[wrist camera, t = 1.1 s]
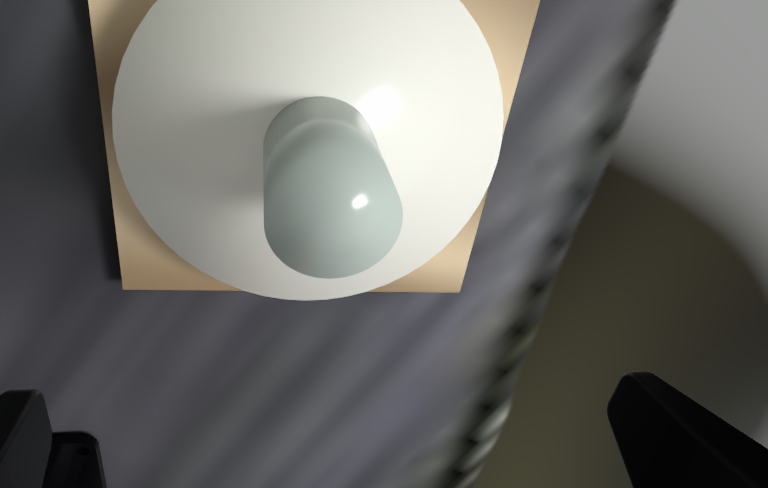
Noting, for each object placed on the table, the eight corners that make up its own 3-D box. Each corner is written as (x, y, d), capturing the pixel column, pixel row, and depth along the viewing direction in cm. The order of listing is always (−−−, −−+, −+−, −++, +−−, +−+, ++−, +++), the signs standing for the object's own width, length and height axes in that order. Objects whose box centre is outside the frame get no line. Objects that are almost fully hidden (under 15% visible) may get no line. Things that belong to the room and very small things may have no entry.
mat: (455, 282, 22) (459, 292, 22) (126, 279, 20) (123, 289, 19) (546, -59, 16) (555, -56, 15) (78, -136, 13) (71, -136, 13)
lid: (449, 280, 21) (496, 384, 17) (137, 276, 19) (102, 396, 15) (533, -39, 16) (635, -2, 11) (99, -106, 13) (20, -92, 9)
